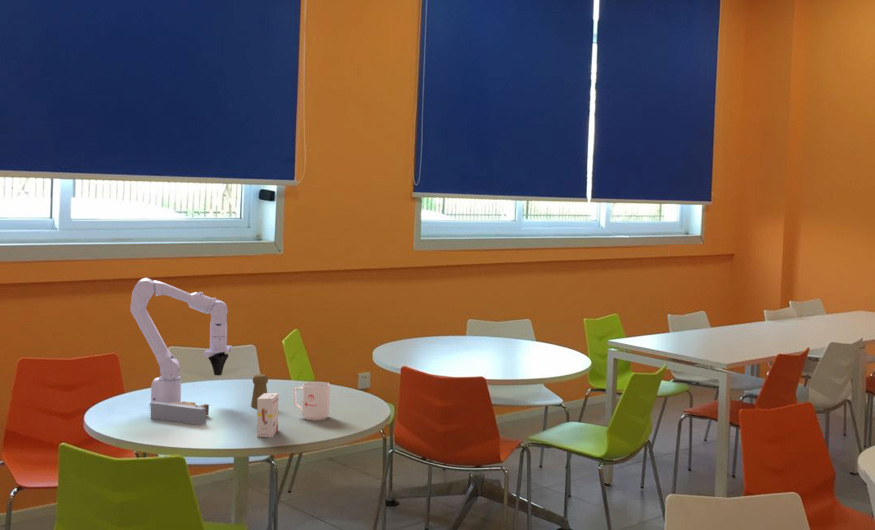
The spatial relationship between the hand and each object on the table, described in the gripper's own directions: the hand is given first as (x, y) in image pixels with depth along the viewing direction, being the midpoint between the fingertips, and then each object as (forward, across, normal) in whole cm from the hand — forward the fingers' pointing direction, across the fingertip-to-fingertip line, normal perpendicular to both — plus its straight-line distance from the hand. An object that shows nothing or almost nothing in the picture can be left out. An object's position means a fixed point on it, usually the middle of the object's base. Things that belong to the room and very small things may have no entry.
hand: (217, 375), depth 310 cm
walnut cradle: (+10, -21, -3) cm, 23 cm away
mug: (+10, -3, -38) cm, 39 cm away
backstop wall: (+10, -26, -3) cm, 28 cm away
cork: (+10, +3, -15) cm, 18 cm away
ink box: (+10, -27, -36) cm, 46 cm away
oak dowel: (+10, -20, -3) cm, 23 cm away
